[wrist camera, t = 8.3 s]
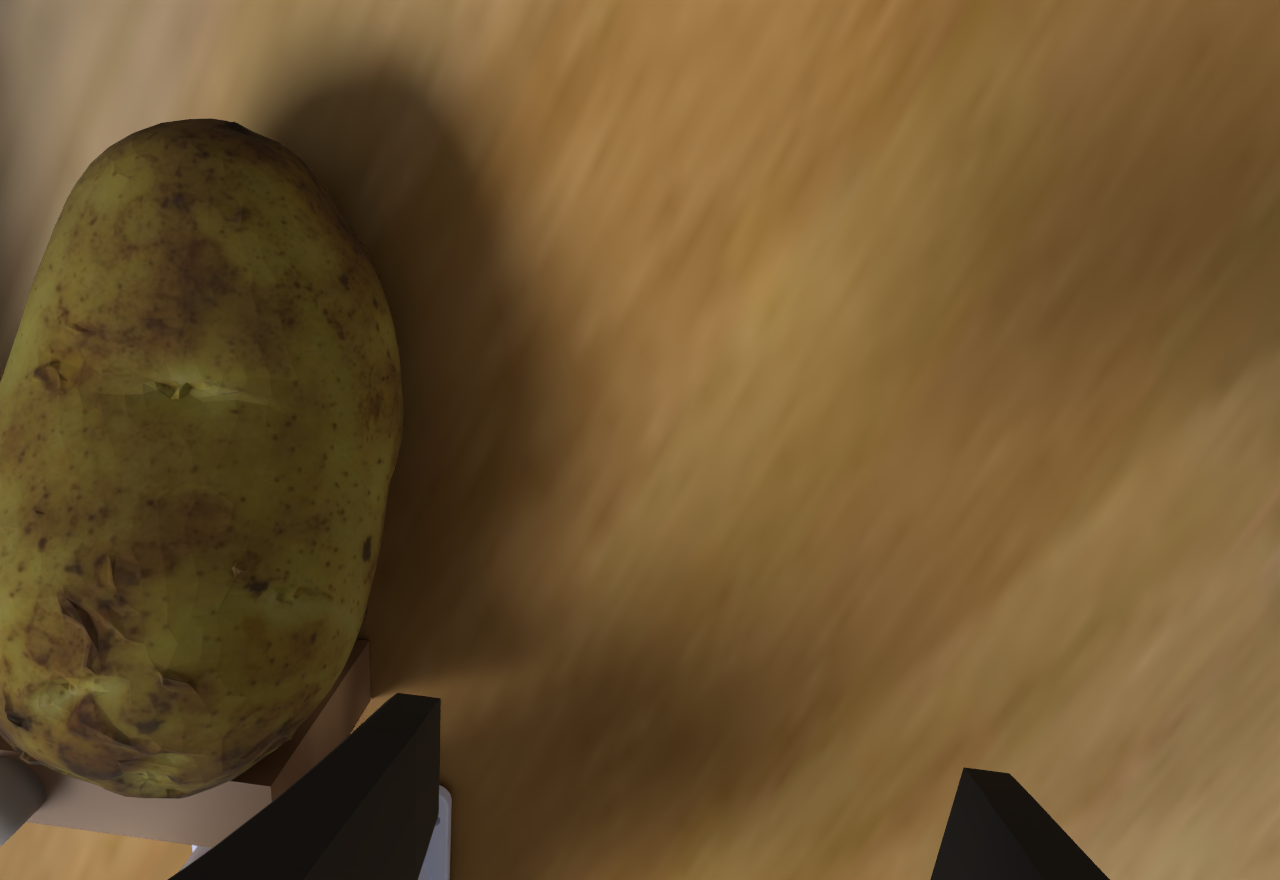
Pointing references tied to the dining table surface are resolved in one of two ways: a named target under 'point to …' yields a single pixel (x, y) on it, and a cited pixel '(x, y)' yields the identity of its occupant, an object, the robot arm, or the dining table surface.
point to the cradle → (34, 793)
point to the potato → (190, 463)
